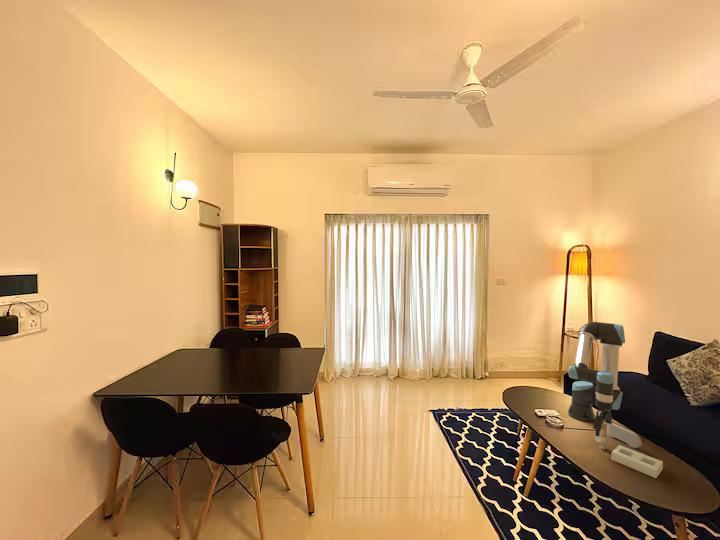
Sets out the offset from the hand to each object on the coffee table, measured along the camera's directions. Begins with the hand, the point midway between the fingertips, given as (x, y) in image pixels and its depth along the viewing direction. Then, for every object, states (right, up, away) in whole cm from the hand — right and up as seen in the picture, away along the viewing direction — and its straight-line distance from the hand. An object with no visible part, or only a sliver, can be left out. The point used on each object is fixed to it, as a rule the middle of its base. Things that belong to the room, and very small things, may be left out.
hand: (602, 437), depth 184 cm
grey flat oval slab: (+17, -6, +8) cm, 20 cm away
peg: (0, -6, 0) cm, 6 cm away
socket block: (+7, -6, -14) cm, 17 cm away
